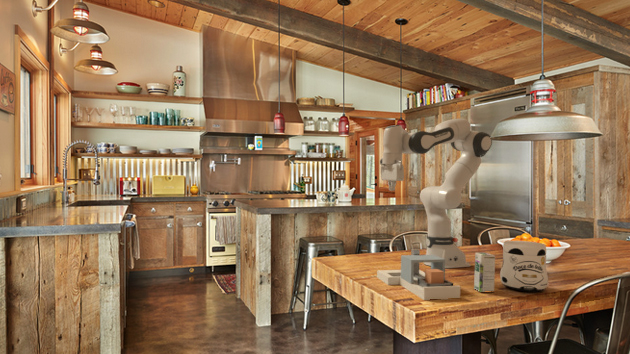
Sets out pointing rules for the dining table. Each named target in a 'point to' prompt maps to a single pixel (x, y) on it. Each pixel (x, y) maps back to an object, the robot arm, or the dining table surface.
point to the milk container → (524, 266)
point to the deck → (418, 286)
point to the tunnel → (409, 261)
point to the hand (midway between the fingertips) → (391, 190)
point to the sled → (421, 278)
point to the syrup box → (484, 272)
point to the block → (434, 276)
